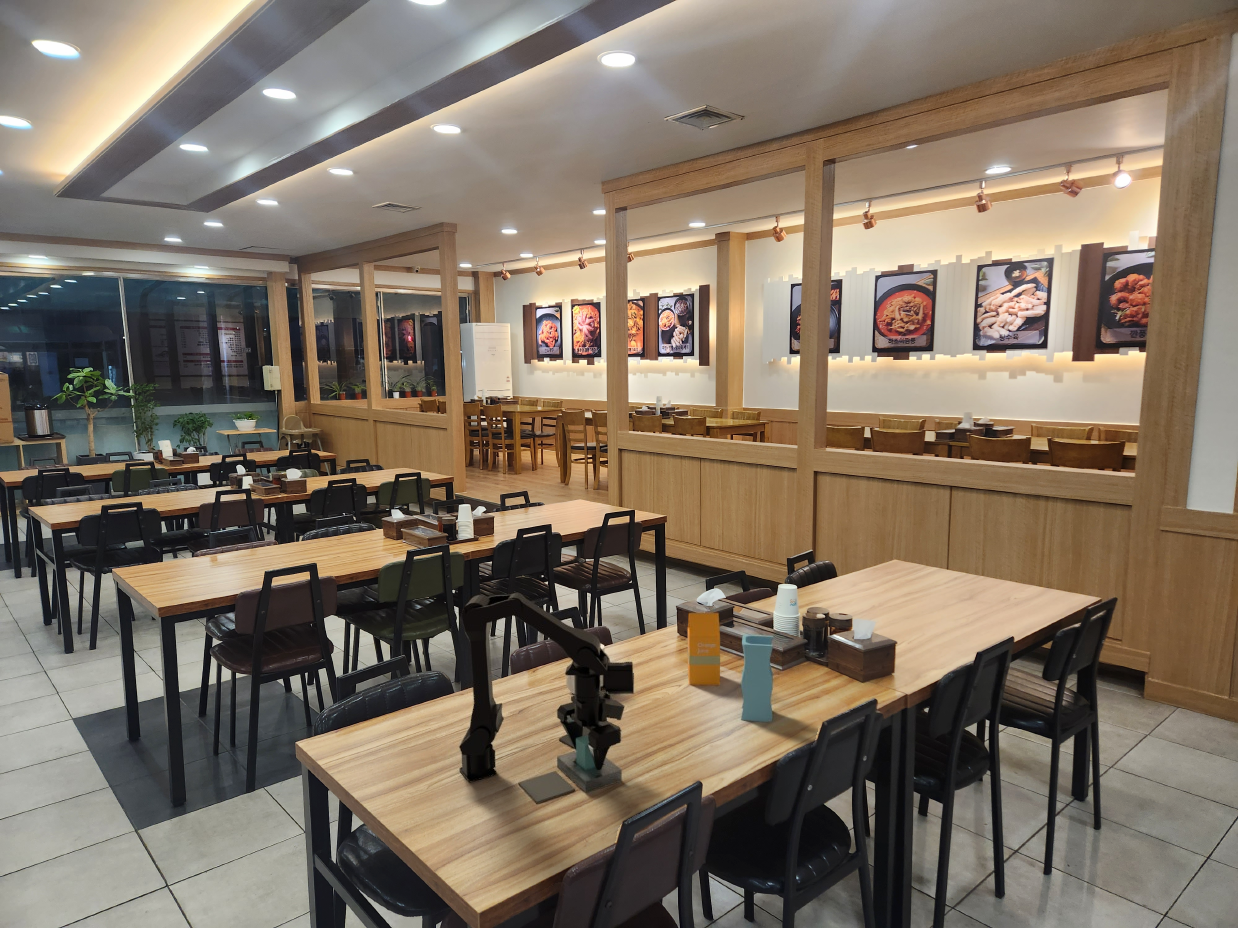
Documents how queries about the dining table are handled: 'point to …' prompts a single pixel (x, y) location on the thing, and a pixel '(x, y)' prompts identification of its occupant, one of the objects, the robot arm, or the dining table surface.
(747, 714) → the vase
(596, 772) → the gray rectangular frame
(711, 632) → the orange juice
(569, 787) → the dark gray square pad
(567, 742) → the smartphone
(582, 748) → the teal square block
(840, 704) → the dining table surface
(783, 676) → the dining table surface
